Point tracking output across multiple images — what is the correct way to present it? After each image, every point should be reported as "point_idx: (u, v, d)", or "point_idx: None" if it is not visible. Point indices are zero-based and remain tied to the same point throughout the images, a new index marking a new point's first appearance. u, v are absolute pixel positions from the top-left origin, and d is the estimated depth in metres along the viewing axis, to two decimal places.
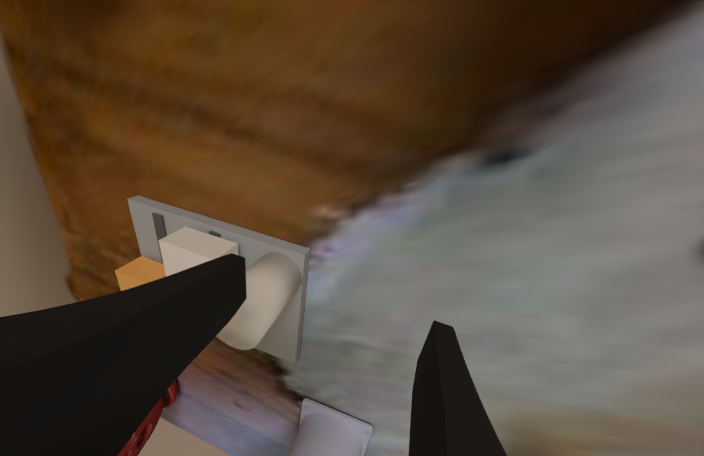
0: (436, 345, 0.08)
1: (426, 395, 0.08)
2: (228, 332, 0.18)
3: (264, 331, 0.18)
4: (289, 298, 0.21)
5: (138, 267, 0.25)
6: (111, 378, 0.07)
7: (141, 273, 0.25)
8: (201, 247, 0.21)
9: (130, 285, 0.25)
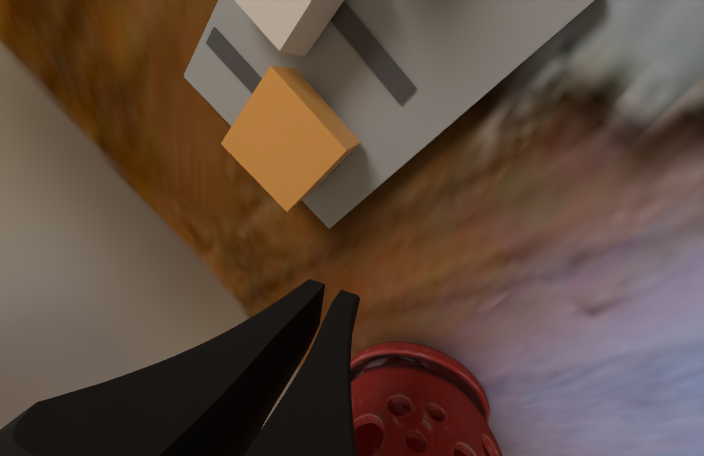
0: (329, 308, 0.08)
1: None
2: None
3: None
4: None
5: None
6: (228, 434, 0.06)
7: None
8: None
9: (248, 141, 0.15)
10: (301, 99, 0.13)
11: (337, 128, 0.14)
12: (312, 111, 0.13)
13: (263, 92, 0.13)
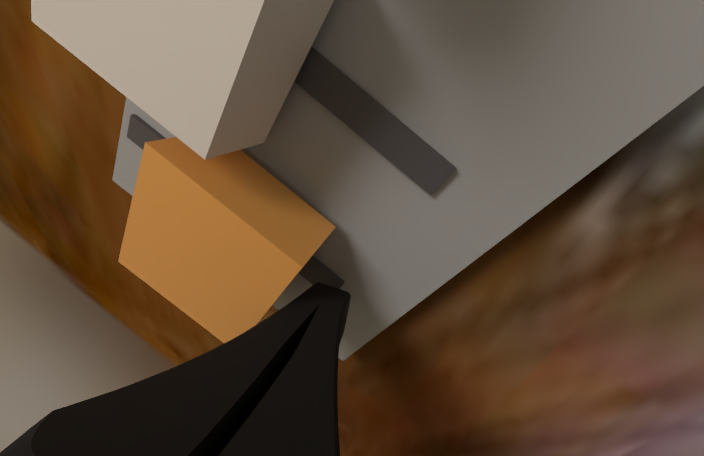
0: (320, 304, 0.09)
1: None
2: None
3: None
4: None
5: None
6: None
7: None
8: None
9: (153, 257, 0.09)
10: (210, 190, 0.07)
11: (287, 221, 0.08)
12: (230, 209, 0.07)
13: (149, 185, 0.08)
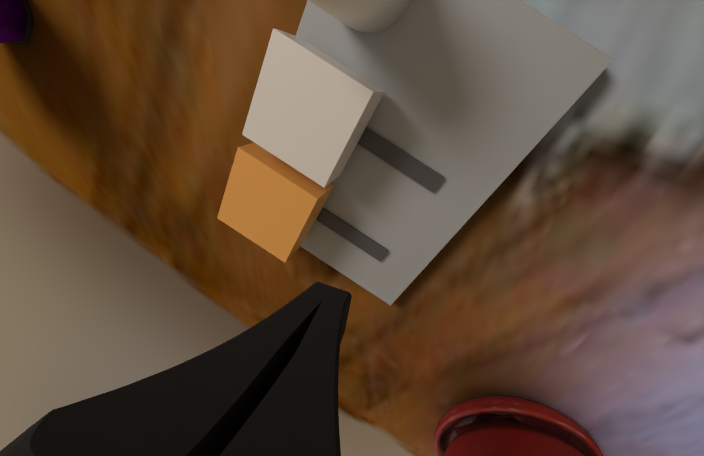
0: (320, 304, 0.09)
1: None
2: None
3: None
4: None
5: None
6: None
7: None
8: None
9: (238, 210, 0.17)
10: (269, 166, 0.15)
11: (307, 181, 0.16)
12: (280, 174, 0.15)
13: (238, 169, 0.15)
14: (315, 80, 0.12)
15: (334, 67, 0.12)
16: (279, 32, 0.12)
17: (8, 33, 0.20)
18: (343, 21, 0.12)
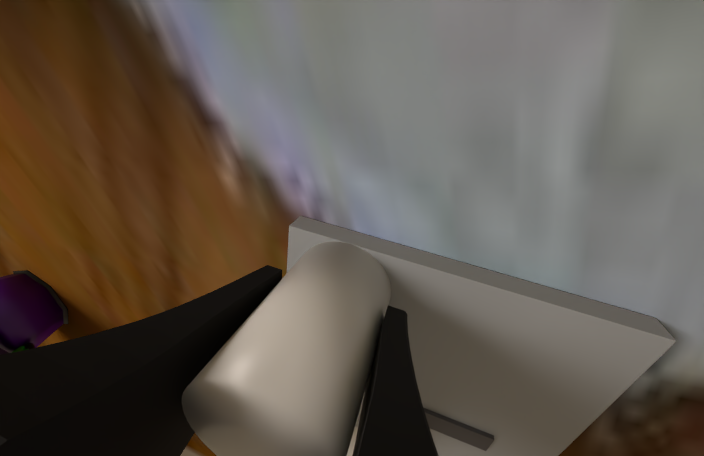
0: (383, 326, 0.08)
1: (371, 374, 0.08)
2: None
3: (277, 367, 0.06)
4: (332, 277, 0.09)
5: None
6: (164, 403, 0.06)
7: None
8: None
9: None
10: None
11: None
12: None
13: None
14: None
15: None
16: None
17: (50, 329, 0.22)
18: None
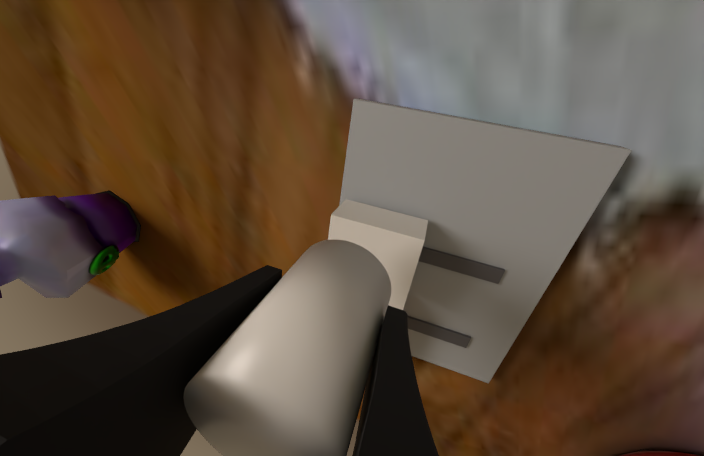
0: (383, 326, 0.08)
1: (371, 374, 0.08)
2: None
3: (279, 362, 0.06)
4: (332, 274, 0.09)
5: None
6: (164, 403, 0.06)
7: None
8: None
9: None
10: None
11: None
12: None
13: None
14: (373, 241, 0.15)
15: (386, 229, 0.14)
16: (336, 216, 0.15)
17: (127, 241, 0.26)
18: None
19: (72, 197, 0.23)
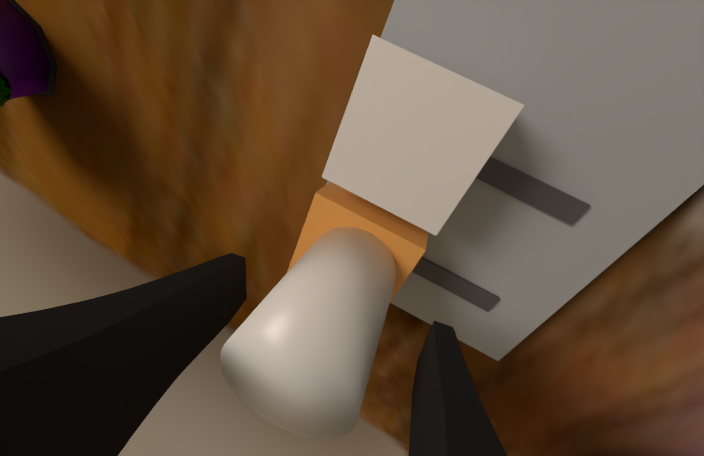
0: (436, 345, 0.08)
1: (426, 395, 0.08)
2: (309, 405, 0.07)
3: (305, 322, 0.07)
4: (345, 255, 0.10)
5: None
6: (111, 378, 0.07)
7: None
8: None
9: None
10: (358, 213, 0.12)
11: (403, 225, 0.12)
12: (373, 222, 0.11)
13: (315, 219, 0.12)
14: (432, 98, 0.09)
15: (463, 77, 0.08)
16: (380, 39, 0.09)
17: (30, 85, 0.18)
18: None
19: None
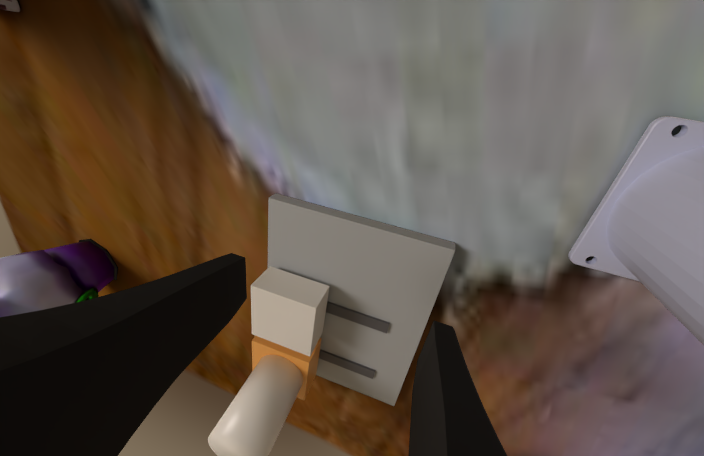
0: (436, 345, 0.08)
1: (426, 395, 0.08)
2: None
3: (235, 425, 0.18)
4: (263, 379, 0.21)
5: None
6: (111, 378, 0.07)
7: None
8: None
9: None
10: (274, 348, 0.22)
11: None
12: (281, 351, 0.22)
13: (256, 351, 0.23)
14: (282, 305, 0.20)
15: (290, 298, 0.19)
16: (254, 286, 0.20)
17: (106, 281, 0.31)
18: None
19: (58, 249, 0.28)
